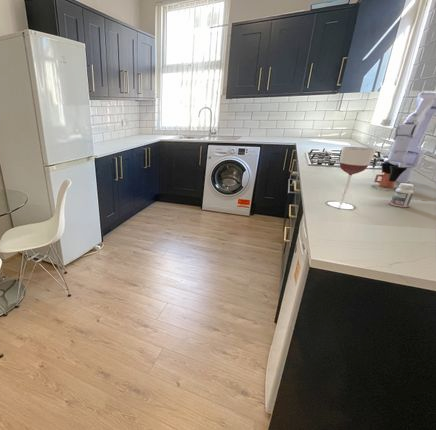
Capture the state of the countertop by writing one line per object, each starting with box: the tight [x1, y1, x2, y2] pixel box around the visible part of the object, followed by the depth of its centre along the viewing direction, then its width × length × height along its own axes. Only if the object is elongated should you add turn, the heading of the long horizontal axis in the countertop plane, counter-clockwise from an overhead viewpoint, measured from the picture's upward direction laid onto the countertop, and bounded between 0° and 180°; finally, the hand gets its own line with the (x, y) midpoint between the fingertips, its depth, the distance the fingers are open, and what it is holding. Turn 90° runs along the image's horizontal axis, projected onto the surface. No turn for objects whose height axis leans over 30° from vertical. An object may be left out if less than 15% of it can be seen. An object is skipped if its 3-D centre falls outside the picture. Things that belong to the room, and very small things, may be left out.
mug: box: [373, 172, 397, 189], centre depth 136 cm, size 8×6×7 cm
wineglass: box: [327, 146, 377, 210], centre depth 110 cm, size 9×10×23 cm
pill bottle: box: [390, 183, 415, 208], centre depth 113 cm, size 5×5×9 cm
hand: (388, 179), depth 135 cm, fingers open, 7 cm apart
